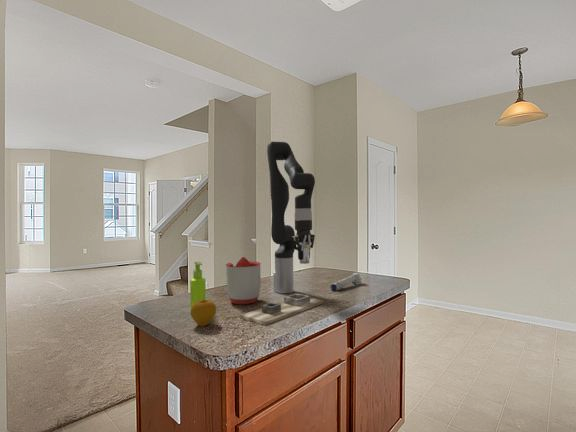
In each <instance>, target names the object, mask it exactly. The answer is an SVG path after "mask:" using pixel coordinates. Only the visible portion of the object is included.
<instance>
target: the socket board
mask: <svg viewBox="0 0 576 432" xmlns="http://www.w3.org/2000/svg"><path fill="white" fill-rule="evenodd" d="M322 304H324V299H318V298H313V297H311V296H310V295H306V294H301V293H294V294H293V293H292V294H290V295H286V296H284V299H283V300H282V301H280V302H276V303H275V302H267V303H265V304H262V305H261V308H258V309H254V310H251V311H249V312H245V313H241V314H240V319H243V320H246V321H248V322H253V323H255V324H260V325H264V326H267V325H270V324H272V323H275V322H278V321H280V320H283V319H286V318H287V317H291V316H294V315H296V314H300V313H301V312H303V311H306V310H309V309H311V308H314V307H317V306H319V305H322Z"/></svg>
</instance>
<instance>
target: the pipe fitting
mask: <svg viewBox="0 0 576 432" xmlns="http://www.w3.org/2000/svg"><path fill="white" fill-rule="evenodd" d="M300 248H301V245H300ZM299 264H303V265H305V264H306V265H307V264H310V258H309V244H305V245H304V247H303V260H299Z"/></svg>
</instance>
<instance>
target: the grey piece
mask: <svg viewBox="0 0 576 432" xmlns="http://www.w3.org/2000/svg"><path fill="white" fill-rule="evenodd" d="M350 284H351V285H353V286H357V285H361V284H362V277H360V273H359V272H353V273H352V275H350V276H347V277H345V278H343V279H340V280H337V281H334V282H333V283H331V285H330V286H329V287H330V290H331V291H332V292H337V291H340V290H342V289H343V288H344V287H346V286H347V285H350Z"/></svg>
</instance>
